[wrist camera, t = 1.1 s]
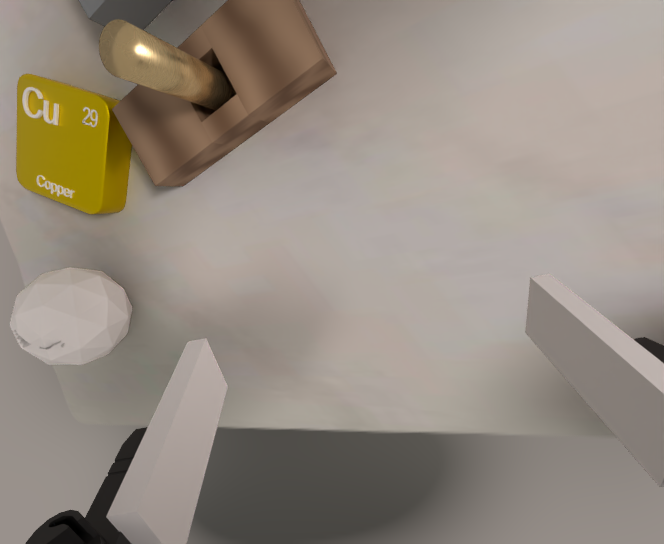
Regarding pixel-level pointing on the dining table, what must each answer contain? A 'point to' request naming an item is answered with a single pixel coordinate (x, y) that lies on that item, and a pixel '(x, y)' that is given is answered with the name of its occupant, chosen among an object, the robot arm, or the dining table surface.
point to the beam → (246, 78)
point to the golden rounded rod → (161, 66)
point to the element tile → (71, 146)
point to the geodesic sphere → (71, 316)
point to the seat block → (124, 10)
